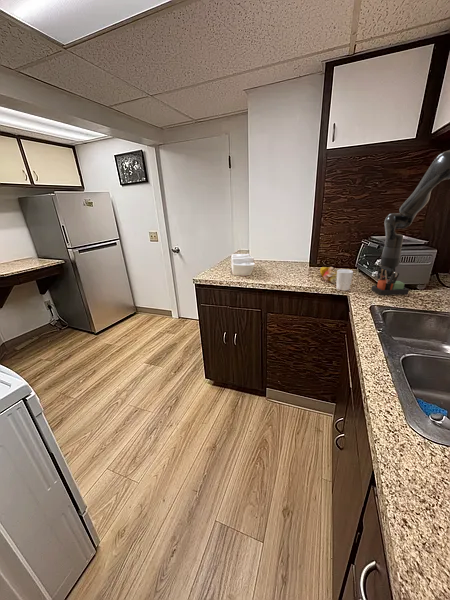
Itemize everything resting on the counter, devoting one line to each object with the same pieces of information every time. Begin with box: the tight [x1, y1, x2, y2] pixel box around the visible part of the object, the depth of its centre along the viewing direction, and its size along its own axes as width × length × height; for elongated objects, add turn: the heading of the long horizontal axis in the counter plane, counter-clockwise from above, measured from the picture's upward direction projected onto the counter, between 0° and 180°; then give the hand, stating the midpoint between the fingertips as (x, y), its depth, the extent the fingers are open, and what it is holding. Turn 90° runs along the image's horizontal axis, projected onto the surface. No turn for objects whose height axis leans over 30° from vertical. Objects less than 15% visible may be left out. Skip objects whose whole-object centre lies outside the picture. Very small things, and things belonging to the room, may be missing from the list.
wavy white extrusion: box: [230, 253, 256, 276], centre depth 179 cm, size 35×16×10 cm, turn 178°
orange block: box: [376, 279, 393, 290], centre depth 126 cm, size 5×4×5 cm
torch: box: [319, 266, 337, 285], centre depth 152 cm, size 8×8×25 cm
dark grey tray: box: [370, 284, 410, 296], centre depth 127 cm, size 14×8×2 cm, turn 91°
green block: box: [392, 280, 406, 290], centre depth 127 cm, size 5×4×5 cm
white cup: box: [335, 268, 354, 292], centre depth 133 cm, size 8×8×10 cm
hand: (384, 289), depth 127 cm, fingers closed on orange block, 4 cm apart
